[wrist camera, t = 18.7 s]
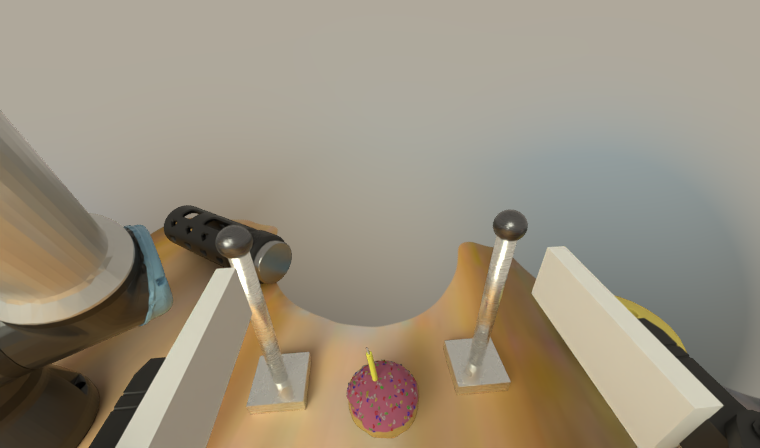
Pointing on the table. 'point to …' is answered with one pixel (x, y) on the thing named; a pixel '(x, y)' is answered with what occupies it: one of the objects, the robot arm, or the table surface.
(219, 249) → the post
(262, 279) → the muzzle brake
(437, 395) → the table surface
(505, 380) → the post
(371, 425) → the cupcake
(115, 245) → the robot arm
